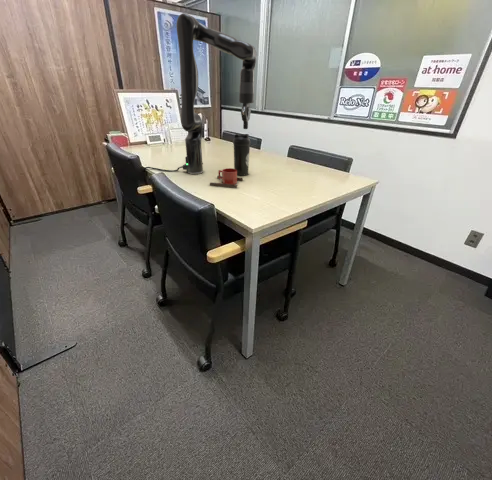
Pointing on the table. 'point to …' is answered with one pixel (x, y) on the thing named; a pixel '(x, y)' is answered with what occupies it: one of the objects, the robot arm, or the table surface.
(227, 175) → the mug
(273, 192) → the table surface
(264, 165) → the table surface
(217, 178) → the guide rails
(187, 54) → the robot arm
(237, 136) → the water bottle
